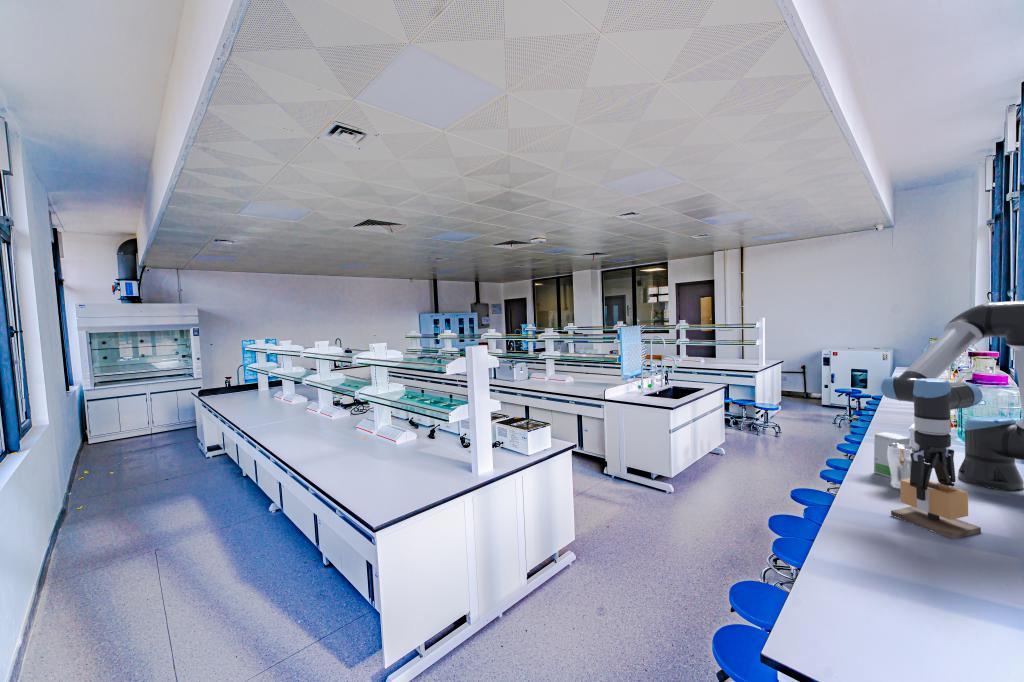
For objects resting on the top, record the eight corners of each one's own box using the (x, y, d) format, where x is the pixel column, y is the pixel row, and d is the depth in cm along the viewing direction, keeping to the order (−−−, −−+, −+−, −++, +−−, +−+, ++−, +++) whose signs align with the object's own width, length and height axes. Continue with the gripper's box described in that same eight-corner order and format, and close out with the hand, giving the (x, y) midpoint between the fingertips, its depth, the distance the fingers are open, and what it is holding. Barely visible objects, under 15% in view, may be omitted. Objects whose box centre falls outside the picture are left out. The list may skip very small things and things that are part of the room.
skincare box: (873, 472, 160) (872, 433, 160) (885, 470, 162) (885, 431, 161) (898, 480, 152) (897, 439, 152) (911, 477, 154) (910, 436, 153)
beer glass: (893, 490, 144) (892, 448, 144) (884, 482, 151) (883, 442, 150) (919, 492, 142) (918, 449, 141) (908, 484, 148) (907, 443, 148)
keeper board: (917, 509, 130) (916, 472, 130) (980, 532, 116) (980, 490, 115) (891, 515, 128) (890, 477, 127) (952, 539, 113) (951, 496, 113)
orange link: (900, 502, 126) (900, 480, 126) (917, 498, 128) (917, 476, 128) (950, 519, 115) (949, 495, 114) (968, 516, 116) (967, 491, 116)
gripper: (941, 425, 126) (942, 498, 127) (891, 432, 122) (893, 508, 123) (973, 430, 119) (974, 508, 120) (921, 438, 115) (923, 519, 115)
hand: (933, 508), depth 121 cm, fingers closed on orange link, 7 cm apart
